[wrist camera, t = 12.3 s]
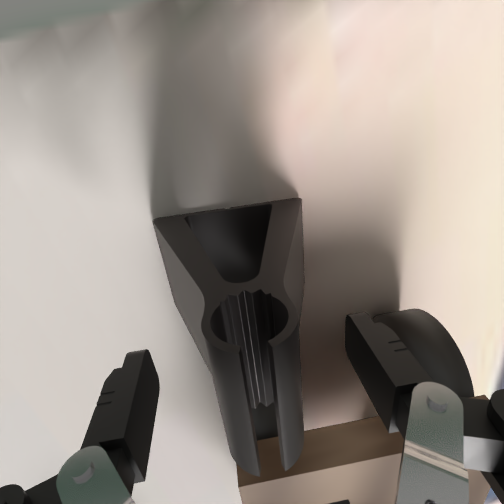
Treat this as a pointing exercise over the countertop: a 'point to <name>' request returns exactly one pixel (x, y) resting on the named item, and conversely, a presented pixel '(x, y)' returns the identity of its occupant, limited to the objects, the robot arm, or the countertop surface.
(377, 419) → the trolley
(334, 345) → the countertop surface
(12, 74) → the countertop surface
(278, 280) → the phone stand
